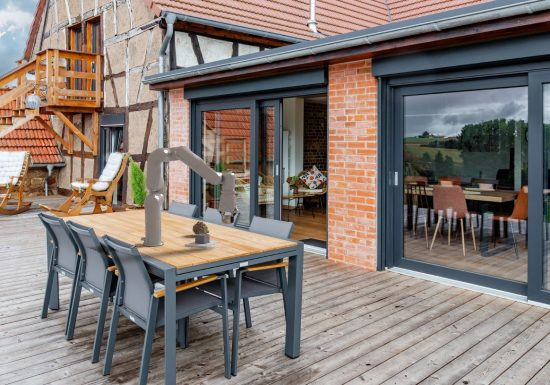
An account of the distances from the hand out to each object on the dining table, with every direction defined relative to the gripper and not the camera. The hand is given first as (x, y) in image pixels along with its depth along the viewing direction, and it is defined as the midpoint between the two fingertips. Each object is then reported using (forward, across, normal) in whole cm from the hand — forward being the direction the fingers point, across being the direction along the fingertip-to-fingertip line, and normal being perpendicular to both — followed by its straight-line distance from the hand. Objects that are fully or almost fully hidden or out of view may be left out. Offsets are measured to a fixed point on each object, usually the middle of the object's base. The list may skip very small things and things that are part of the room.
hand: (227, 222), depth 297 cm
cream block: (+1, 0, 0) cm, 1 cm away
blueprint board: (+15, -15, -4) cm, 21 cm away
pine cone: (+15, -28, +19) cm, 37 cm away
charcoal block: (+14, -15, -4) cm, 21 cm away
